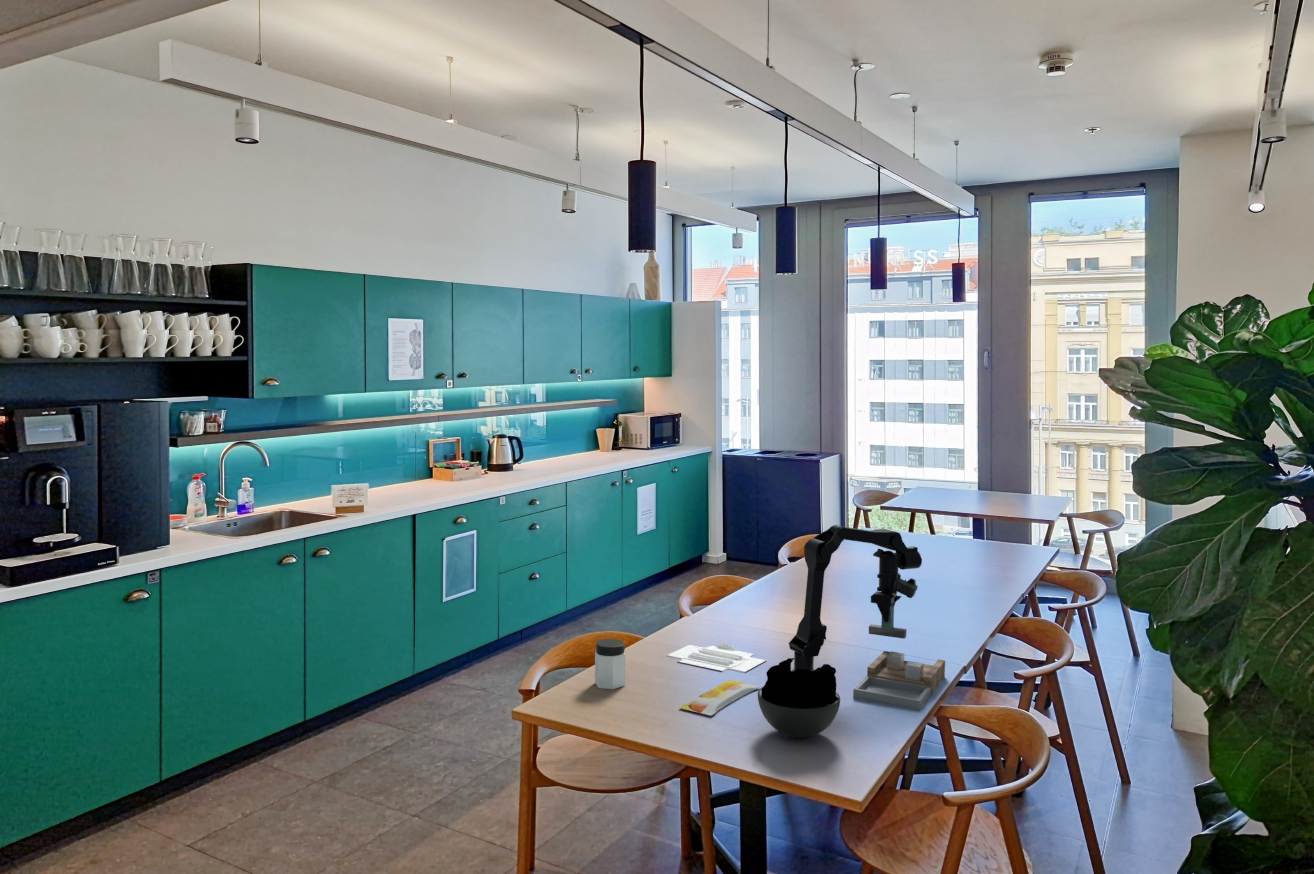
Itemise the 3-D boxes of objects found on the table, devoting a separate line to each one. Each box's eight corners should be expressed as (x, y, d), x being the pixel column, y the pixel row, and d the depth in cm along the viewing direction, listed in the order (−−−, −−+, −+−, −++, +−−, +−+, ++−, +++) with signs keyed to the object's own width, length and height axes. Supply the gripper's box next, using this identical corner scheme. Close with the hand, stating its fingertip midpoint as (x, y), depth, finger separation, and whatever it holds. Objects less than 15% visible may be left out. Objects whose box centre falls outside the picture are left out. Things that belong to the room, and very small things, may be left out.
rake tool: (904, 638, 273) (904, 608, 272) (868, 633, 278) (868, 604, 277) (906, 636, 275) (907, 606, 275) (870, 631, 281) (871, 602, 280)
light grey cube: (919, 680, 252) (920, 666, 251) (905, 678, 254) (905, 664, 253) (923, 676, 255) (923, 663, 255) (908, 674, 257) (909, 660, 257)
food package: (729, 675, 258) (760, 682, 253) (729, 683, 259) (760, 690, 253) (678, 703, 236) (711, 711, 230) (678, 711, 236) (711, 720, 230)
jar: (627, 688, 252) (627, 646, 251) (598, 690, 250) (599, 648, 249) (620, 678, 260) (621, 637, 259) (593, 680, 258) (593, 639, 257)
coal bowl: (740, 732, 221) (741, 657, 220) (794, 713, 234) (795, 642, 233) (802, 758, 206) (803, 678, 205) (856, 737, 219) (858, 661, 218)
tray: (740, 677, 263) (740, 665, 263) (660, 664, 279) (660, 652, 279) (771, 660, 281) (771, 648, 280) (694, 648, 296) (694, 637, 296)
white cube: (900, 670, 261) (900, 656, 260) (886, 668, 263) (887, 654, 262) (904, 666, 264) (904, 653, 264) (890, 664, 266) (890, 651, 266)
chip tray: (919, 710, 237) (919, 701, 237) (853, 697, 246) (853, 689, 246) (930, 695, 248) (931, 686, 248) (866, 684, 257) (866, 675, 257)
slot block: (930, 695, 249) (931, 677, 248) (867, 683, 258) (867, 666, 257) (944, 677, 264) (945, 660, 264) (883, 666, 273) (884, 650, 273)
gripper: (908, 579, 263) (907, 631, 264) (921, 567, 280) (920, 616, 281) (870, 575, 269) (869, 626, 270) (886, 564, 285) (885, 612, 286)
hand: (887, 620), depth 276 cm, fingers closed on rake tool, 3 cm apart
